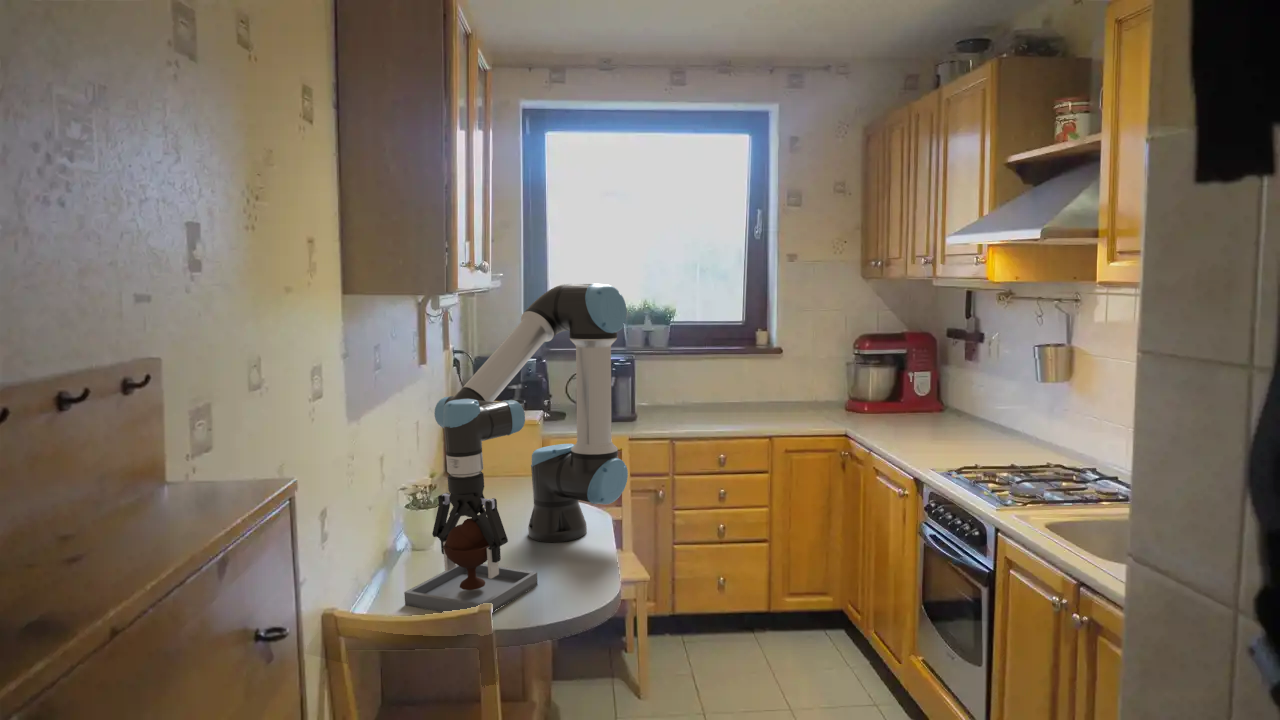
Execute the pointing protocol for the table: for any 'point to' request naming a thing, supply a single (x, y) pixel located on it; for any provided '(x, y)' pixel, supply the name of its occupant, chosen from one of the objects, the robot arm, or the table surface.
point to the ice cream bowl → (467, 551)
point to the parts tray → (449, 595)
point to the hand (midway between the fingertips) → (471, 572)
